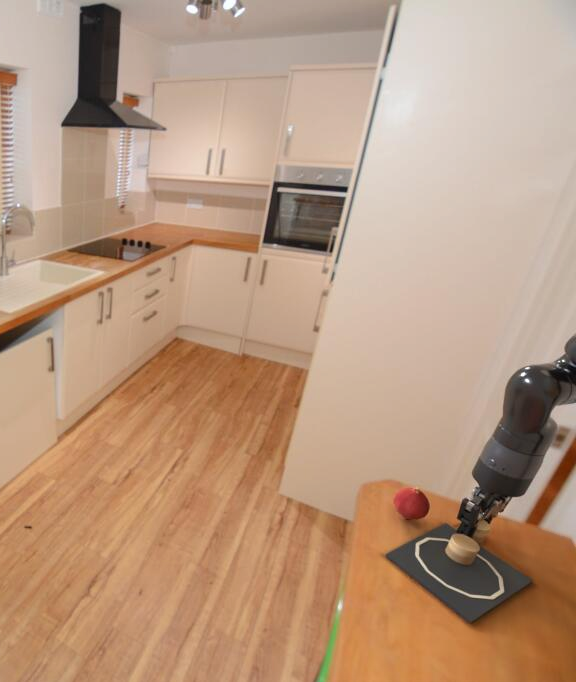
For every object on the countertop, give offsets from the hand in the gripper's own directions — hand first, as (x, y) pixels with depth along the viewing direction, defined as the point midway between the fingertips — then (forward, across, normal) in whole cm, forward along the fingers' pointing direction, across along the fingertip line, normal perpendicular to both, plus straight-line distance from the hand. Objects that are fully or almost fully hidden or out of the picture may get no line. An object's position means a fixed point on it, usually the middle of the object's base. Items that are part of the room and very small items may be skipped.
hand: (470, 532), depth 89 cm
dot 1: (+1, 0, 0) cm, 1 cm away
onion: (+1, -7, +8) cm, 10 cm away
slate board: (+1, -11, -4) cm, 11 cm away
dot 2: (0, -8, -2) cm, 8 cm away
